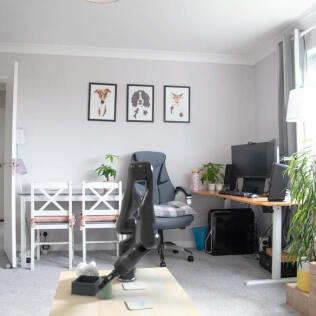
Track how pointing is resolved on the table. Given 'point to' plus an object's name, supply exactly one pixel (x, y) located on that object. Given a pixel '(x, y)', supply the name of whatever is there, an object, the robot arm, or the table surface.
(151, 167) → the robot arm
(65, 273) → the table surface
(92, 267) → the white knot sculpture
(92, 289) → the tub
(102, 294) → the cup
